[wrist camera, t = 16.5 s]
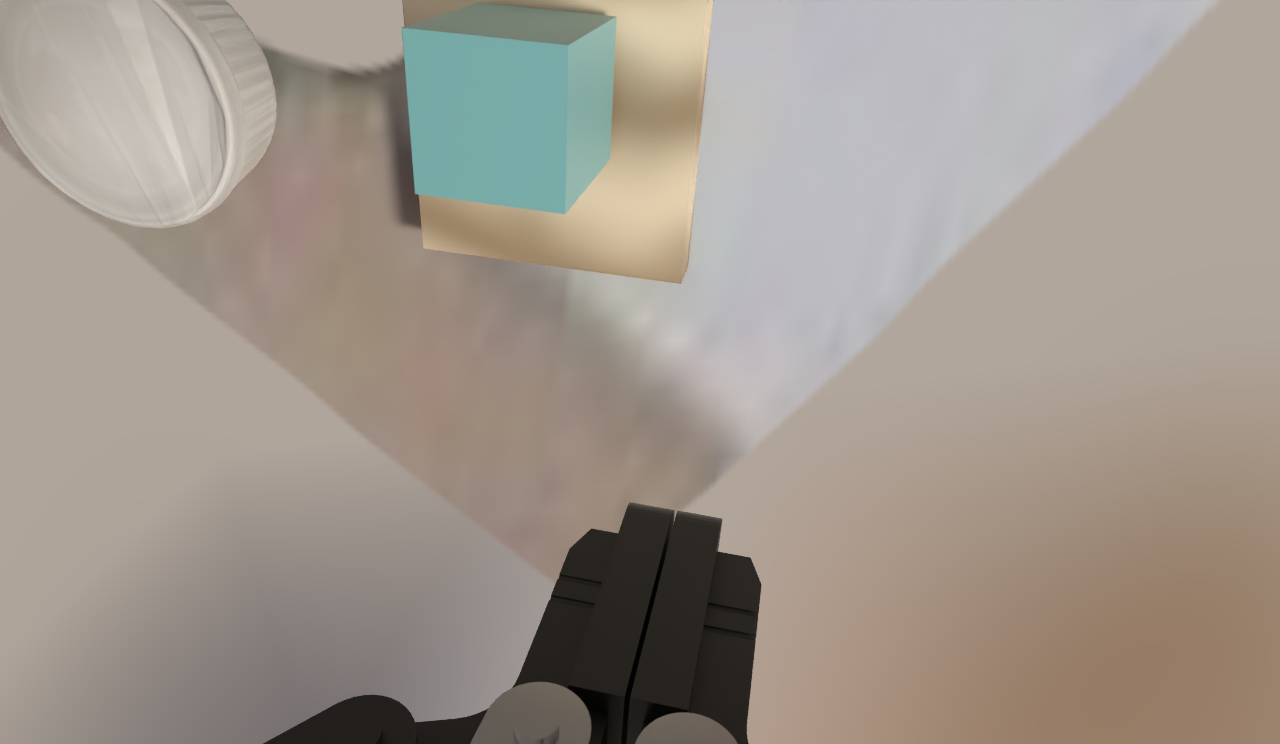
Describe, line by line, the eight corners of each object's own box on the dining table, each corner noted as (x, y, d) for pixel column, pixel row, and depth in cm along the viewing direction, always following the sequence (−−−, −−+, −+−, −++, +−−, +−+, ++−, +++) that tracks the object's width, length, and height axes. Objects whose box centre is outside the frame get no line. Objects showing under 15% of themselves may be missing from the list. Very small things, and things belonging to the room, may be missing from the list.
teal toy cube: (478, 2, 31) (401, 27, 26) (616, 16, 31) (568, 45, 25) (483, 143, 34) (415, 193, 29) (609, 159, 33) (565, 214, 28)
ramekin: (348, 99, 37) (281, 128, 33) (219, 236, 42) (147, 277, 38) (150, -121, 34) (48, -123, 30) (38, 54, 39) (-64, 76, 35)
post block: (412, -165, 31) (286, -181, 24) (726, -145, 30) (692, -156, 22) (440, 232, 40) (353, 309, 32) (687, 266, 38) (653, 355, 31)
